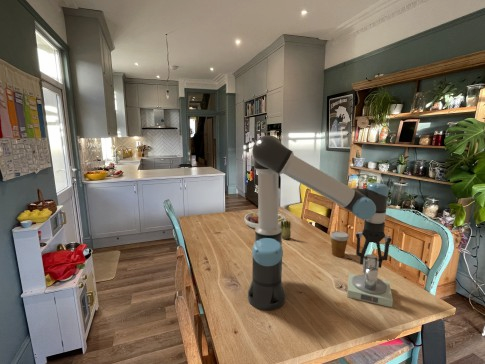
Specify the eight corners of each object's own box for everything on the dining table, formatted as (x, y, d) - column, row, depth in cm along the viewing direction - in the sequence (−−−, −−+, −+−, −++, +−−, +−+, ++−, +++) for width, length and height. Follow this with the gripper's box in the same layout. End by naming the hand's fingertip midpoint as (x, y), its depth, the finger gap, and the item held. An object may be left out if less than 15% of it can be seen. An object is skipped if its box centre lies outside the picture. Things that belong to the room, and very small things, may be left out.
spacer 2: (376, 291, 102) (378, 273, 101) (364, 289, 104) (365, 270, 102) (375, 285, 106) (377, 267, 105) (363, 283, 108) (365, 265, 106)
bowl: (263, 214, 211) (263, 205, 210) (293, 224, 190) (294, 213, 188) (236, 223, 191) (236, 213, 189) (266, 235, 169) (267, 223, 168)
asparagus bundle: (279, 238, 164) (280, 220, 162) (284, 236, 167) (284, 218, 165) (287, 240, 160) (287, 222, 158) (291, 238, 163) (292, 220, 161)
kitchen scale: (392, 308, 99) (393, 298, 98) (347, 297, 105) (347, 288, 104) (388, 287, 112) (389, 279, 111) (348, 279, 118) (349, 271, 117)
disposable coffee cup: (350, 254, 142) (351, 233, 140) (343, 260, 135) (344, 239, 133) (333, 249, 148) (334, 229, 146) (325, 254, 142) (327, 234, 139)
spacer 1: (375, 277, 108) (377, 260, 107) (364, 275, 110) (365, 258, 108) (374, 272, 112) (376, 255, 111) (363, 270, 114) (365, 253, 112)
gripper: (397, 220, 106) (391, 272, 111) (351, 215, 113) (348, 264, 118) (400, 226, 100) (394, 281, 104) (351, 220, 106) (347, 272, 111)
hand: (369, 272), depth 111 cm, fingers closed on spacer 1, 4 cm apart
